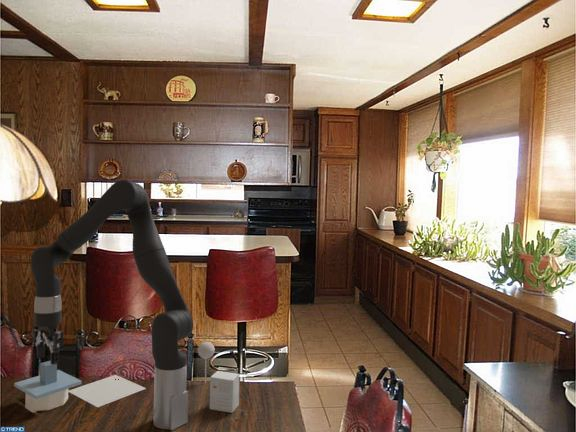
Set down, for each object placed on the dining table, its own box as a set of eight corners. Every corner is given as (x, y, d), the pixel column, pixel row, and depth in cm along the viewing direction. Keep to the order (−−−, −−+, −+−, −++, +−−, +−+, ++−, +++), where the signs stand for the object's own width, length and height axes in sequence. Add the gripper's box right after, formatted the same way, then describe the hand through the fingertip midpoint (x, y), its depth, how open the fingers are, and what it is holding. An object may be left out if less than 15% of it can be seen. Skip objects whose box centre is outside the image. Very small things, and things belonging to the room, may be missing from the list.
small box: (239, 405, 145) (240, 373, 144) (232, 413, 139) (233, 380, 139) (216, 401, 147) (217, 370, 146) (208, 409, 141) (209, 376, 141)
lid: (81, 384, 142) (82, 362, 142) (35, 399, 131) (36, 375, 131) (58, 372, 151) (59, 352, 150) (14, 386, 139) (14, 364, 139)
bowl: (73, 402, 142) (73, 384, 142) (37, 415, 133) (37, 396, 133) (55, 393, 149) (56, 375, 148) (20, 404, 140) (20, 386, 139)
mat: (146, 390, 153) (146, 388, 153) (97, 409, 139) (97, 407, 139) (115, 376, 164) (115, 374, 164) (67, 392, 149) (67, 390, 149)
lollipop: (215, 380, 163) (217, 340, 163) (211, 387, 158) (212, 345, 157) (199, 379, 164) (200, 338, 163) (194, 385, 158) (195, 344, 158)
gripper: (72, 310, 139) (71, 362, 139) (48, 303, 147) (48, 352, 147) (47, 315, 132) (46, 369, 133) (24, 307, 141) (24, 358, 141)
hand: (47, 360), depth 140 cm, fingers open, 8 cm apart
